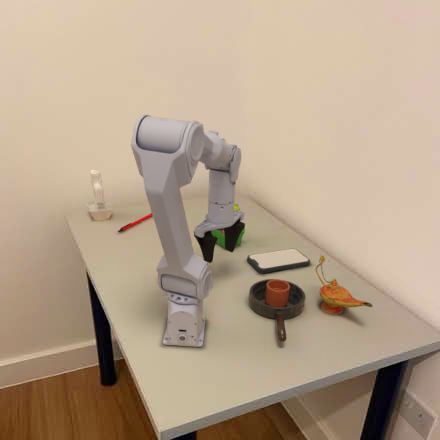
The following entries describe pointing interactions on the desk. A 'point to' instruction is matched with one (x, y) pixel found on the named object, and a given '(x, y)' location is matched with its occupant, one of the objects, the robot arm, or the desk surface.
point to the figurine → (98, 199)
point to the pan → (261, 307)
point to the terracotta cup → (277, 293)
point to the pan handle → (280, 326)
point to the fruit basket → (221, 236)
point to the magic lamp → (336, 295)
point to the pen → (135, 223)
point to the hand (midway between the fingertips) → (218, 255)
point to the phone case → (278, 260)
